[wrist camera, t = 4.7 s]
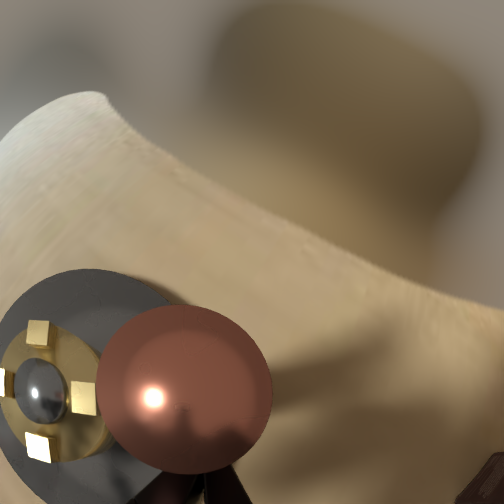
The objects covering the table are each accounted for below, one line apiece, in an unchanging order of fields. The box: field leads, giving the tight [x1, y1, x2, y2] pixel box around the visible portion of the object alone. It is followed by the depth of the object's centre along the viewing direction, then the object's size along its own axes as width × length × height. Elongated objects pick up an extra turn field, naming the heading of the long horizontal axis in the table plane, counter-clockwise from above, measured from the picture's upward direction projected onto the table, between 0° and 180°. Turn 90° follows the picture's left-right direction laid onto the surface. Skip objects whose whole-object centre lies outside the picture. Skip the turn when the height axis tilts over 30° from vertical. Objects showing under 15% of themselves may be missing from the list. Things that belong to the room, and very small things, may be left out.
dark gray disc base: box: [0, 269, 171, 504], centre depth 12 cm, size 17×17×1 cm
